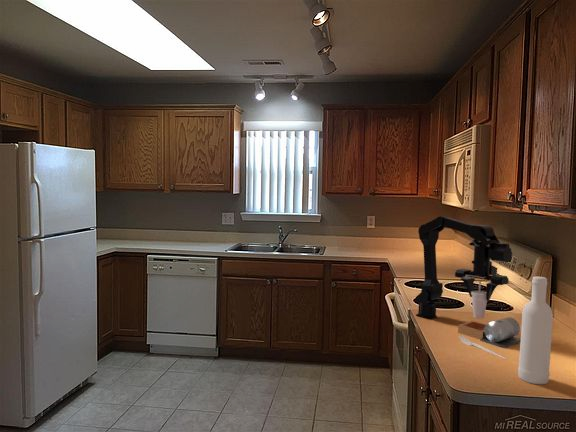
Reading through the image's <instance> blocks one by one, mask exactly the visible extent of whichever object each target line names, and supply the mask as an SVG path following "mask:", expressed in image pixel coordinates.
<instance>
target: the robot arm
mask: <svg viewBox="0 0 576 432" xmlns="http://www.w3.org/2000/svg"><path fill="white" fill-rule="evenodd" d="M445 228H447V229H451V230H454V231H458V232H461V233H463V234H466V235H467V236H469V238H471V239H473V240H472V241H471V242H470V243H469V244H468V245H469V246H473V248H474V250H473V260H471V264H472V265H473V266H472V268H473V269H472V270H471V269H469V268H467V269H466V268H459V269H456V270H455V272H454V277H455V278H459V279H460V281H463V283H464V285H465V287H466V290H467V292H468V295H469V297H470V298H472V295H471V291H474V283H475V279H480V280H485V281H489V283H485V285H486V287H485V288H486V291H485V292H486V298H487V302H488V301H490V299H491V297H492V296H493V293H494V291H495V289H496V288H497V287H498V286H503V285H509V278H508V276H507V275H502V274H498V273H497V272H498V268H497V267H496V266H494V265H493V262H492V261H496V262H502V263H510V261H511V260H512V258H513V252H512V248H511V247H510V243H507V242H506V243H505V242H504V243H503V242H500V241H499V239H498V237H497V235H496V234H495V231H494V228H493V227H492V226H491V225H487V224H486V225H485V224H473V223H469V222H465V221H464V220H463V221H462V220H459V219H456V218H453V217H449V216H448V215H439V216H438V217H436V218H434V219H433V220H431V221H429V222H426V223H424V224H421V225H420V226H419V227H418V228H417V229H418V230H417V231H418V237H419V240H420V242H421V243H422V246H423V267H424V279H423V282H422V285H421V288H420V289H421V290H420V291H421V292H420V293H418V294H417V295H416V296H415V301H416V303H417V304H418V312H417V313H416V314H415V316H417V317H420V318H423V319H427V320H430V319H434V318H437V317H438V315H437V307H436V304H437V303H438V302H439V300H440V299H441V297H442V296H443V293H444V290H443V282H439V279H438V275H437V274H438V273H437V270H438V269H437V252H436V249H437V248H436V245H437V243H438V240H439V237H440V232H443V231H444V230H445Z"/></svg>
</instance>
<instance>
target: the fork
mask: <svg viewBox="0 0 576 432" xmlns="http://www.w3.org/2000/svg"><path fill="white" fill-rule="evenodd" d="M458 338H459V340H460V342H461V343H463V344H465V345H467V346H474V347H476V348H477V349H480V350H483V351H485V352H487V353H489V354H493V355H495V356H497V357H500V358H503V359H504V360H507V359H508V358H507V357H504V356H502V355H500V354H498V353H497V352H494V351H493V350H491V349H488V348H486V347H484V346H482V345H480V344H478V343H475V342H472V341H470V340H469V339H468V338H467V337H465V335H463V334H461V335H459V336H458Z"/></svg>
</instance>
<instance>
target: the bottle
mask: <svg viewBox="0 0 576 432" xmlns="http://www.w3.org/2000/svg"><path fill="white" fill-rule="evenodd" d="M531 283H532V284H531V285H532V286H531V299H530V301H528V302H527V303H525V305H524V306H523V309H522V313H521V326H520V339H521V342H520V343H519V346H520V347H519V360H518V367H517V368H518V373H517V375H518V377H519V379H520V380H521V381H524V382H526V383H529V384H533V385H546V384H548V383H549V378H550V364H551V349H552V336H553V334H552V333H553V322H554V321H553V319H554V315H553V311H552V308H551V306H550V305H549V304H548V303H547V302H546V301H547V288H548V287H547V286H548V279H547V277H544V276H538V275H537V276H533V277H532V280H531Z"/></svg>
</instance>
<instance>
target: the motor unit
mask: <svg viewBox="0 0 576 432" xmlns="http://www.w3.org/2000/svg"><path fill="white" fill-rule="evenodd" d="M457 325H458V326H457V333H459V334H461V335H464V336H468V337H471V338H475V339H478V340H480V341H481V342H482V343H486V344H490V345H492V346H496V347H499V348H503V349H507V348H509V347H511V346H513V345H516V344H520V342H521V337H520V338H519V337H517V336H518V335H519V334H520V333H521V326H520V323H519V322H518V321H517V319H515V318H514V317H510V316H509V317H505V318H504V317H502V318H500V319H497V320H494V321H490V322H488V323H487V324H486V323H483V322H478V321H475V320H471V321H468V322H463V323H459V324H457Z"/></svg>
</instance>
